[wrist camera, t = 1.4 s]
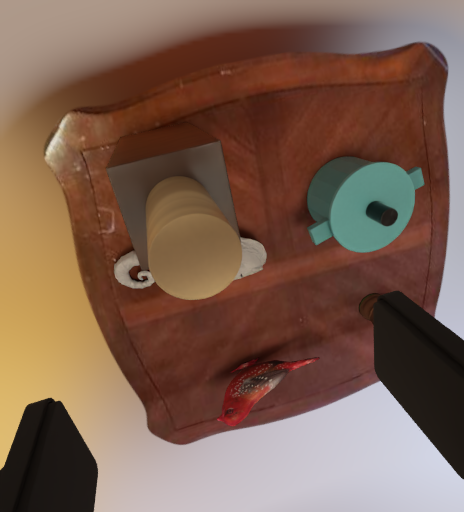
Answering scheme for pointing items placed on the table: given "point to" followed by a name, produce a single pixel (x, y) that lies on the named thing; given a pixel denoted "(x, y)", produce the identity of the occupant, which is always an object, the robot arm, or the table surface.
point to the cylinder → (189, 240)
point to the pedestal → (166, 174)
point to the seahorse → (250, 264)
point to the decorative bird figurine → (254, 386)
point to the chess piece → (368, 306)
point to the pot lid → (371, 206)
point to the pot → (326, 187)
